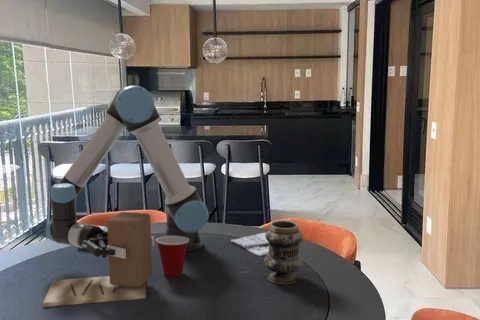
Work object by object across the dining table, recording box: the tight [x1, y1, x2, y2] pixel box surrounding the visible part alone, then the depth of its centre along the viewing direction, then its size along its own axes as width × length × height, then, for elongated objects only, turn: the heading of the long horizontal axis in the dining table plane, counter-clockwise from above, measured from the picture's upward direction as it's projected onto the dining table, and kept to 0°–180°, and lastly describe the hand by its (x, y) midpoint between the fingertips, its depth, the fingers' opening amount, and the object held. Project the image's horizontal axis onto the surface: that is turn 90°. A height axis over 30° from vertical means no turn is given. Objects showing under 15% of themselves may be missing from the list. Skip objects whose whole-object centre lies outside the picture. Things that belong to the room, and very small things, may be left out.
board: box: [42, 275, 147, 308], centre depth 144 cm, size 28×16×1 cm, turn 101°
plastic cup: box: [155, 235, 189, 278], centre depth 156 cm, size 11×11×12 cm
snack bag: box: [230, 231, 269, 257], centre depth 185 cm, size 19×20×2 cm
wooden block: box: [106, 211, 153, 287], centre depth 144 cm, size 10×10×20 cm
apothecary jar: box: [263, 220, 304, 285], centre depth 151 cm, size 12×12×18 cm
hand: (139, 247), depth 142 cm, fingers closed on wooden block, 12 cm apart
